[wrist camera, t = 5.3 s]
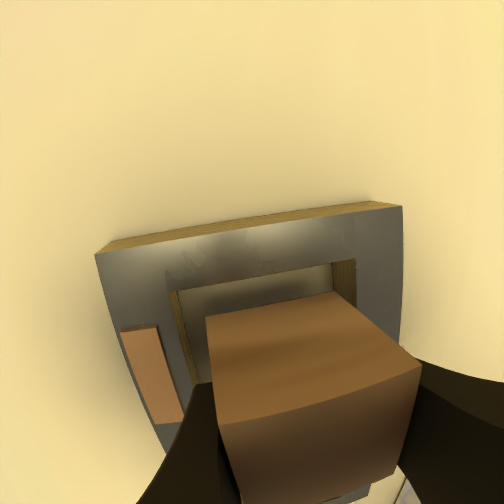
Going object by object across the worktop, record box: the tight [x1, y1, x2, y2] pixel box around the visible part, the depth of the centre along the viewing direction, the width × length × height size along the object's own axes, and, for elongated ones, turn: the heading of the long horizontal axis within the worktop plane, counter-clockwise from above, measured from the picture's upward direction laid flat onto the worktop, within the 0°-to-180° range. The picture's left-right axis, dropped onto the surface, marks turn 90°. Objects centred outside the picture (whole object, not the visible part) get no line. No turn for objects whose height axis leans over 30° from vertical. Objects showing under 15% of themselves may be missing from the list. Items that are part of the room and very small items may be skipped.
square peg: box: [205, 291, 422, 504], centre depth 8 cm, size 4×4×4 cm
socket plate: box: [94, 201, 403, 504], centre depth 12 cm, size 18×10×2 cm, turn 8°
